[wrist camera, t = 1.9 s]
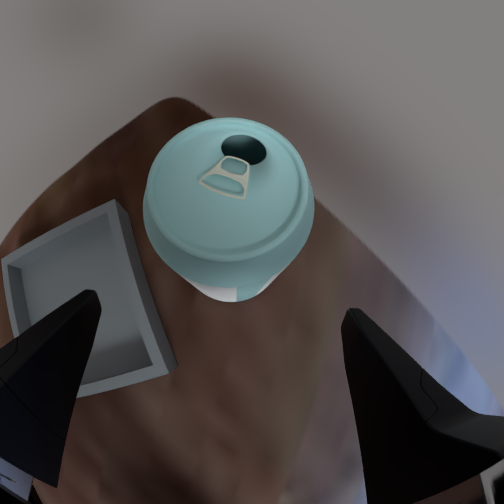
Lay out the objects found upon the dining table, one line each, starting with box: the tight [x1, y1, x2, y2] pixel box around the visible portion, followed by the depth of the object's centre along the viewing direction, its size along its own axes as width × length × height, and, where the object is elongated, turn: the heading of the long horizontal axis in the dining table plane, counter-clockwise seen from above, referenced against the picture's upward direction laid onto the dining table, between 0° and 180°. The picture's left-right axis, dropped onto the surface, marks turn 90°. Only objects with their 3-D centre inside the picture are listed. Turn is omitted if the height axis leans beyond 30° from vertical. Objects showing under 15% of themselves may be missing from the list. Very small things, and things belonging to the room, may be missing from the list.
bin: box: [1, 199, 178, 398], centre depth 18 cm, size 13×13×3 cm
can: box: [143, 117, 314, 302], centre depth 15 cm, size 7×7×12 cm
